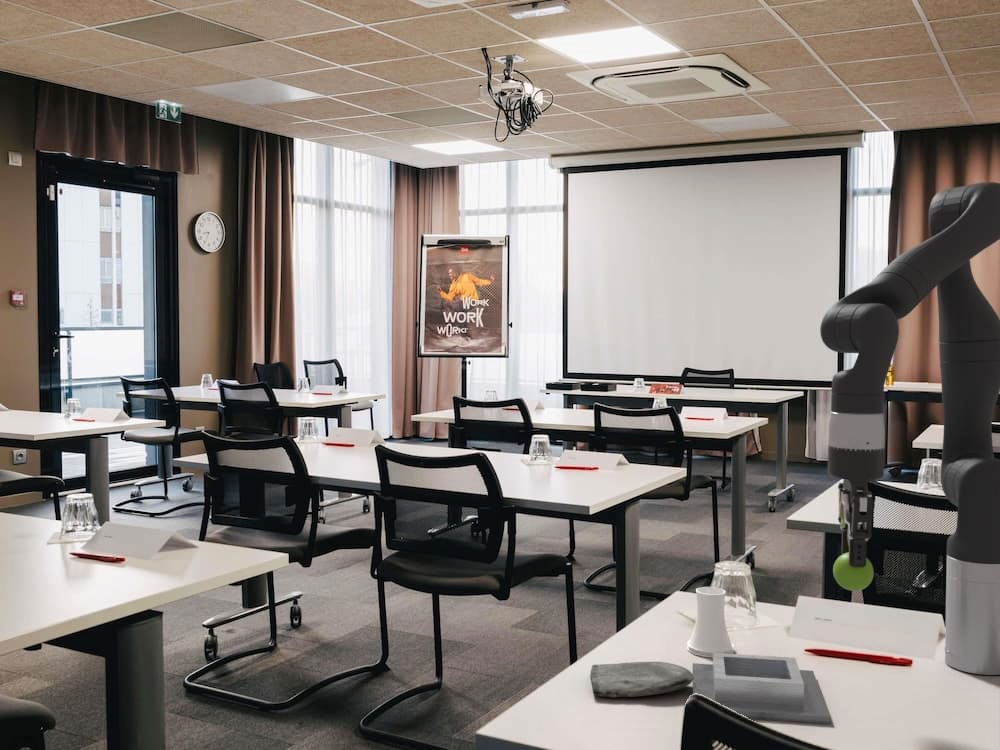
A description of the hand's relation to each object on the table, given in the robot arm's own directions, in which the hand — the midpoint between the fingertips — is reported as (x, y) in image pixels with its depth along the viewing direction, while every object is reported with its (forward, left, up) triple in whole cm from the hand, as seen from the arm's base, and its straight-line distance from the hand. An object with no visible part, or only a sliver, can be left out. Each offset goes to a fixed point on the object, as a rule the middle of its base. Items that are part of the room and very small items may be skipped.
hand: (853, 560), depth 137 cm
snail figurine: (0, 0, -4) cm, 4 cm away
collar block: (+13, +2, -20) cm, 24 cm away
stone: (+30, +2, -20) cm, 36 cm away
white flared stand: (+19, -17, -20) cm, 33 cm away
